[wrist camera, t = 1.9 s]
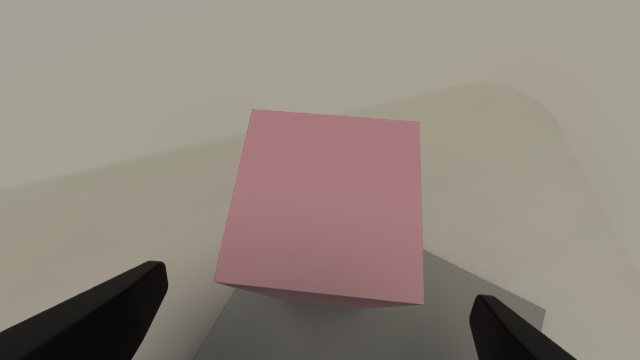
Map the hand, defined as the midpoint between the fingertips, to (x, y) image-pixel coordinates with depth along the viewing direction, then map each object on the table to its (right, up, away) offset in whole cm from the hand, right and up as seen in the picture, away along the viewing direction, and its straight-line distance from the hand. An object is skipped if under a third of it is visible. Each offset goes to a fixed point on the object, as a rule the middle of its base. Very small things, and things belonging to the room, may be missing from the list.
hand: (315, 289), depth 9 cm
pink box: (0, -2, +10) cm, 10 cm away
